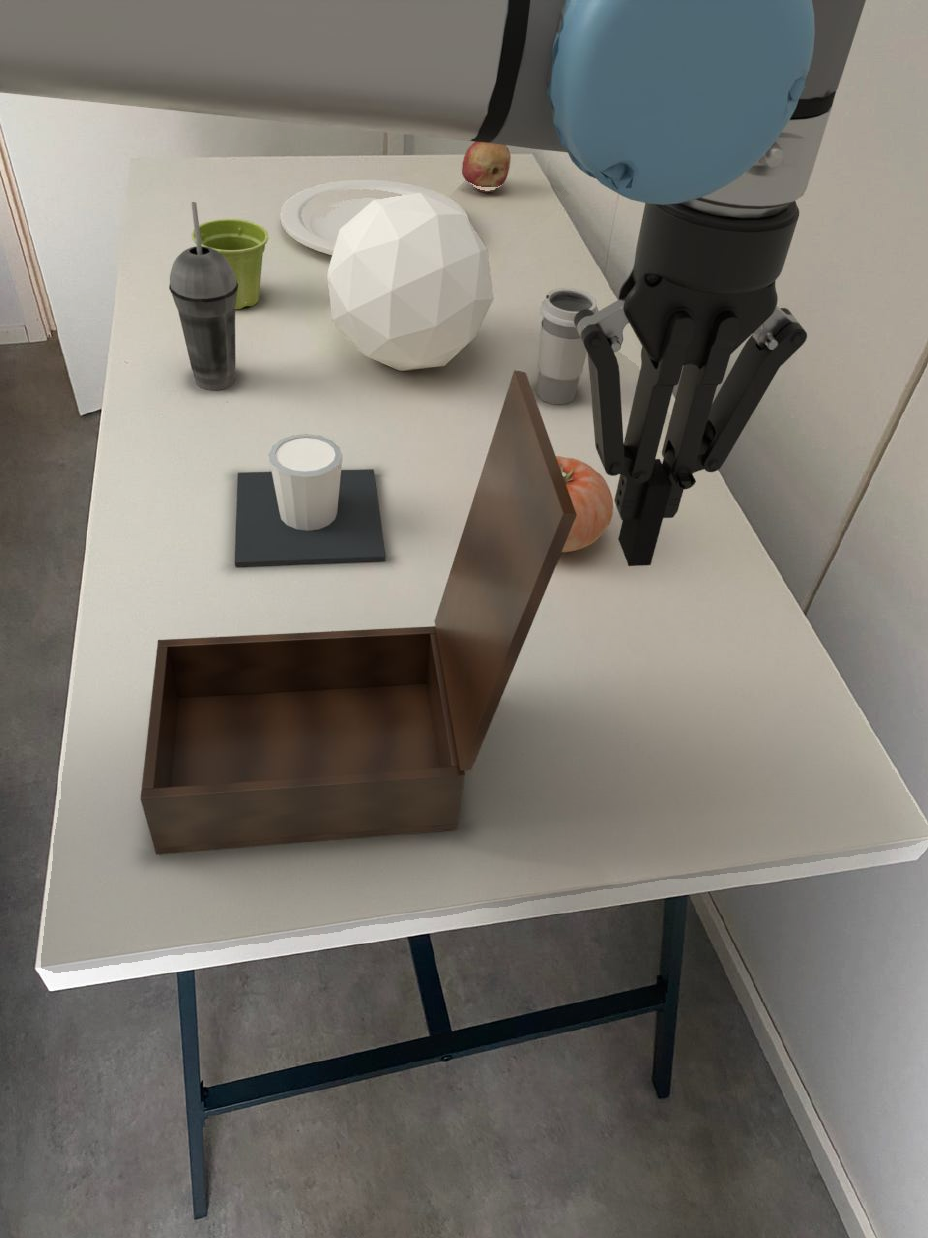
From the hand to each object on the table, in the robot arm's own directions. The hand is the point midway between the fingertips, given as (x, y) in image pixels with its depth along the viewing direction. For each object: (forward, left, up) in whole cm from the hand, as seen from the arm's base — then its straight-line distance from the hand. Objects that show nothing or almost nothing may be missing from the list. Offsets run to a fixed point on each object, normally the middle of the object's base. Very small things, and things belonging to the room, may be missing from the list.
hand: (634, 551), depth 64 cm
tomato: (+3, +26, -20) cm, 33 cm away
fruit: (+10, +114, -20) cm, 117 cm away
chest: (-22, 0, -20) cm, 30 cm away
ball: (-8, +61, -20) cm, 65 cm away
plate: (-9, +98, -20) cm, 101 cm away
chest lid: (-10, 0, -2) cm, 10 cm away
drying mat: (-21, +30, -20) cm, 42 cm away
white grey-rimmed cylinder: (-21, +30, -20) cm, 42 cm away
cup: (+9, +52, -20) cm, 57 cm away
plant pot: (-29, +76, -20) cm, 84 cm away
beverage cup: (-31, +56, -20) cm, 67 cm away
